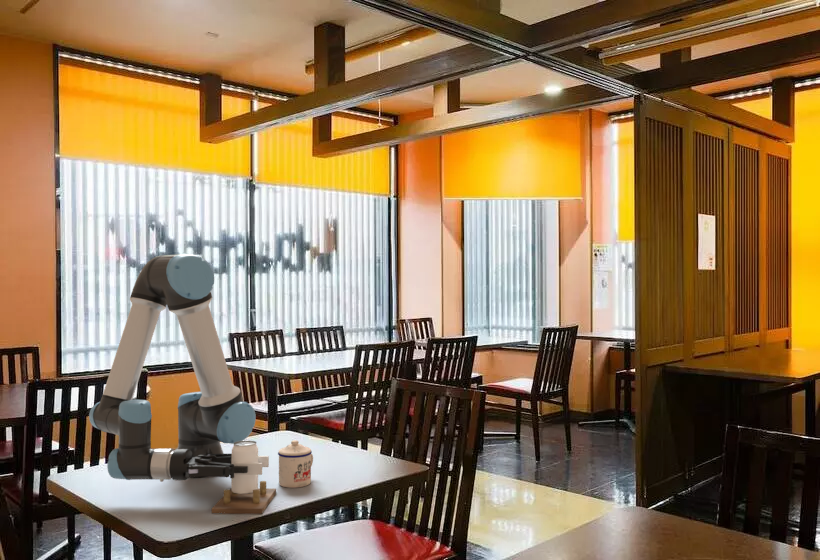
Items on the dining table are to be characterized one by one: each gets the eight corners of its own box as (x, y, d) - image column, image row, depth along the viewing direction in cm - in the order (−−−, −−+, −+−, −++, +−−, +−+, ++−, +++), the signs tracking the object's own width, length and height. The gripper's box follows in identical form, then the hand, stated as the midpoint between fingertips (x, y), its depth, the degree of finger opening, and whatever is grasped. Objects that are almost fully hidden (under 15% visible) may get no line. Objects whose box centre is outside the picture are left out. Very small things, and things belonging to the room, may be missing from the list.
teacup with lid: (297, 490, 184) (297, 446, 184) (271, 485, 188) (270, 442, 188) (324, 479, 194) (324, 437, 194) (299, 474, 199) (299, 433, 199)
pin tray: (230, 492, 182) (230, 476, 182) (276, 493, 181) (276, 477, 181) (211, 513, 166) (211, 495, 166) (261, 513, 165) (261, 496, 165)
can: (234, 496, 169) (235, 446, 169) (228, 489, 175) (228, 441, 175) (261, 492, 172) (261, 444, 172) (254, 486, 178) (254, 439, 178)
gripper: (186, 469, 183) (273, 469, 183) (158, 490, 164) (255, 491, 164) (186, 440, 184) (273, 441, 183) (158, 458, 164) (255, 459, 164)
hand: (265, 465), depth 173 cm, fingers closed on can, 6 cm apart
